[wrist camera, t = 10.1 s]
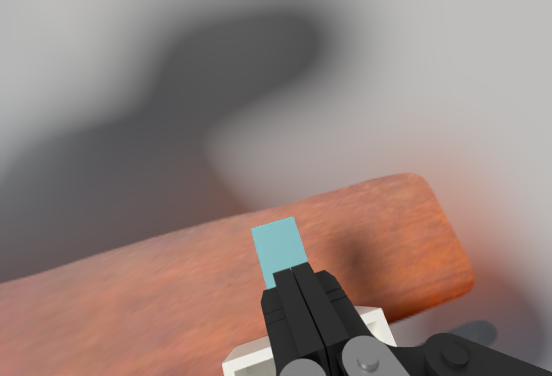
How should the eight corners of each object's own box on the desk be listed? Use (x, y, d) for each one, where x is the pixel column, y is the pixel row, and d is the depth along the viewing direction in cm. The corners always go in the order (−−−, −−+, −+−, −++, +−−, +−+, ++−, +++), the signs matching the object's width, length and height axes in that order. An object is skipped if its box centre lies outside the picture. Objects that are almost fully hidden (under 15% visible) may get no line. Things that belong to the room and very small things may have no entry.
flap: (280, 337, 21) (250, 228, 24) (279, 333, 22) (251, 231, 25) (327, 321, 21) (293, 216, 24) (323, 318, 23) (291, 219, 25)
